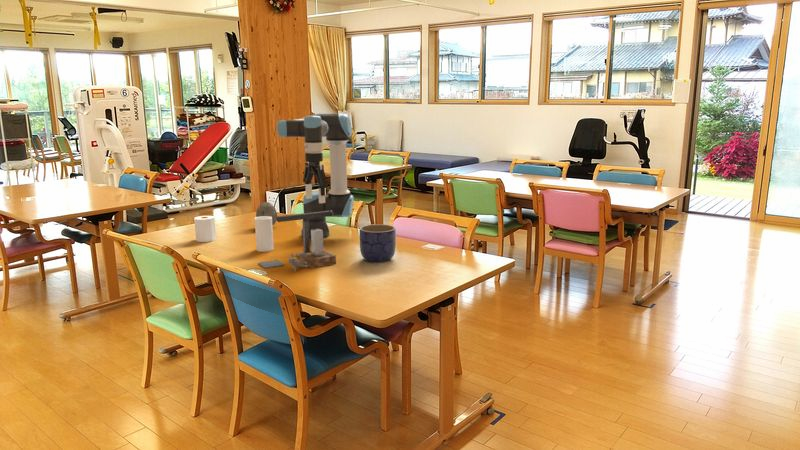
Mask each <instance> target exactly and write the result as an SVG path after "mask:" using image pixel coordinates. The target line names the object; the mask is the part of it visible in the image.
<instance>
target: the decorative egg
mask: <svg viewBox="0 0 800 450" xmlns="http://www.w3.org/2000/svg"><path fill="white" fill-rule="evenodd" d="M259 216H271V217H272V226H275V224H276V223H277V221H276V218H277V216H278V212H277V210H276V207H275V206H274V205H273V204H272V203H270V202H268V201H264V202H262V203H260V204H259V205H258V206H257V208H256V213H255V217H259Z"/></svg>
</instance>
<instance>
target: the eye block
mask: <svg viewBox="0 0 800 450" xmlns="http://www.w3.org/2000/svg"><path fill="white" fill-rule="evenodd" d="M323 250H324V256H319V257H313V256H312V252H309V253H303V252H302V253H303V254H300V258H299V259H300V260H299V261H301V262H307V264H306V265H308V266H307V267H309V268H312V269H313V268H317V267H323V266H328V265H329V266H330V265H335V264H336V263H337V260H336V259H337V258H336V257H337V256H336V255H335V254H332V253H331V252H328V251H327V250H325V249H323Z"/></svg>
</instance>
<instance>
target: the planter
mask: <svg viewBox="0 0 800 450" xmlns="http://www.w3.org/2000/svg"><path fill="white" fill-rule="evenodd" d="M358 236H359V250H360V255H361V256H362V258H363V259H364V260H366V261H367V262H371V263H386V262H388V261H390V260H391V259H392V258H393V257H394V255H395V253H396V249H397V248H396V247H397V241H396V240H397V231H396V227H395V226H394V225H390V224H382V223H380V224H379V223H378V224H377V223H375V224H373V223H372V224H367V225H366V224H365V225H362V226H360V227H359V235H358Z"/></svg>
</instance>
